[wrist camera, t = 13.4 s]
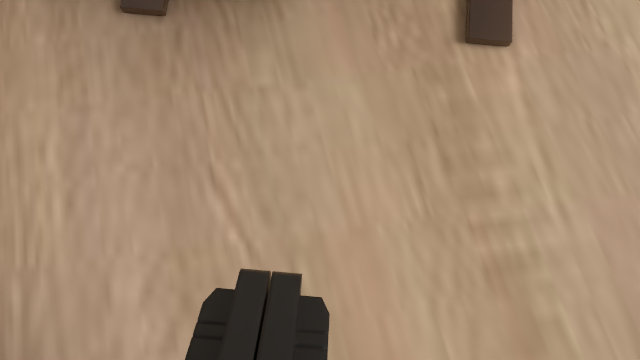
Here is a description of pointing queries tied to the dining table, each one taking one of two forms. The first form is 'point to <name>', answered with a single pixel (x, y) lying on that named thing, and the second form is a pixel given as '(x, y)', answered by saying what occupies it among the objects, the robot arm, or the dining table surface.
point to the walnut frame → (482, 18)
